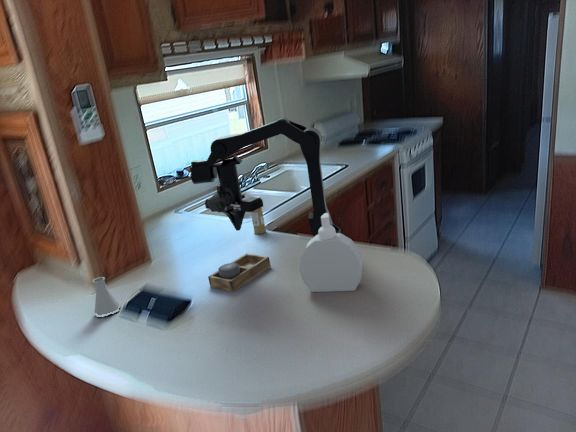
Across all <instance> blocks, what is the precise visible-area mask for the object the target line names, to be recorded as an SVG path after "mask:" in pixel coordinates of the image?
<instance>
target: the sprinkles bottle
mask: <svg viewBox="0 0 576 432" xmlns="http://www.w3.org/2000/svg"><path fill="white" fill-rule="evenodd" d="M250 216H251V221H252V225H253V233H254V234H255V235H262V234H265V233H266V231H267V229H266V225H265V218H264V213H263V208H262V207H261V208H259V209H257V210H255V211H253V212H250Z"/></svg>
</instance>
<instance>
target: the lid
mask: <svg viewBox="0 0 576 432" xmlns="http://www.w3.org/2000/svg"><path fill="white" fill-rule="evenodd" d="M218 270H219V275H220V278H225V279H230V280H231V279H233V278H234V277H236V276H237V275H239V274H240V268H239V264H237V263H232V262H229V263H226V264H225V263H224V264H222V265H221V266H219V267H218ZM218 270H217V271H218Z"/></svg>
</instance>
